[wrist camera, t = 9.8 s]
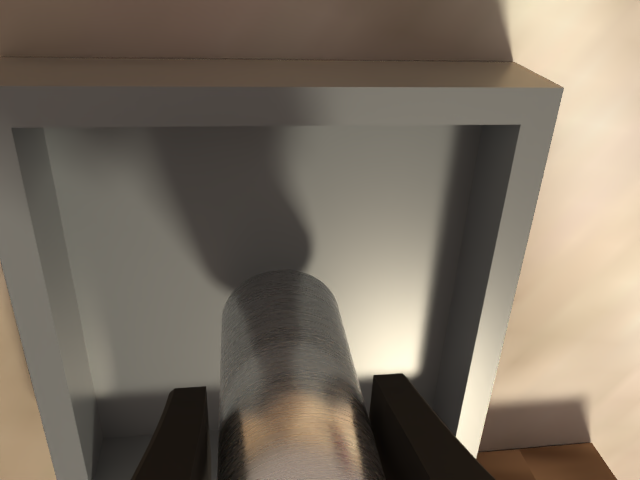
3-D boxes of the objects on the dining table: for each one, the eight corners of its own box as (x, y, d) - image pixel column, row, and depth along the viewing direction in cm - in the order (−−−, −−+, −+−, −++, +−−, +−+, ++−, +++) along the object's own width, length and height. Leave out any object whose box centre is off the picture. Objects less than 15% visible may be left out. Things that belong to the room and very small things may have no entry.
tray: (83, 443, 19) (65, 512, 17) (0, 57, 13) (-45, 86, 11) (446, 415, 20) (472, 475, 18) (514, 62, 15) (564, 87, 13)
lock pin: (213, 378, 16) (193, 835, 8) (205, 261, 14) (170, 695, 6) (346, 370, 16) (454, 794, 8) (354, 256, 14) (498, 653, 7)
